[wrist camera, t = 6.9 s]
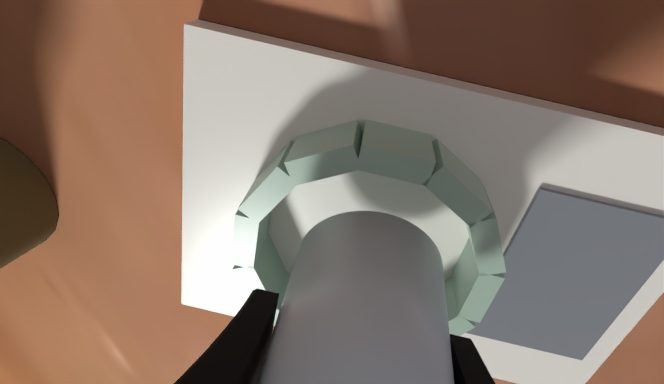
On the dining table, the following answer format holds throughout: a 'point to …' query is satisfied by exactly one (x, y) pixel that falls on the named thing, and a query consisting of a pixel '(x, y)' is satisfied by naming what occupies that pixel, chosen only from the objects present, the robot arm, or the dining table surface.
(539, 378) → the white base plate
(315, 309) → the tube
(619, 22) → the dining table surface
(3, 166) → the cork
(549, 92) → the dining table surface
